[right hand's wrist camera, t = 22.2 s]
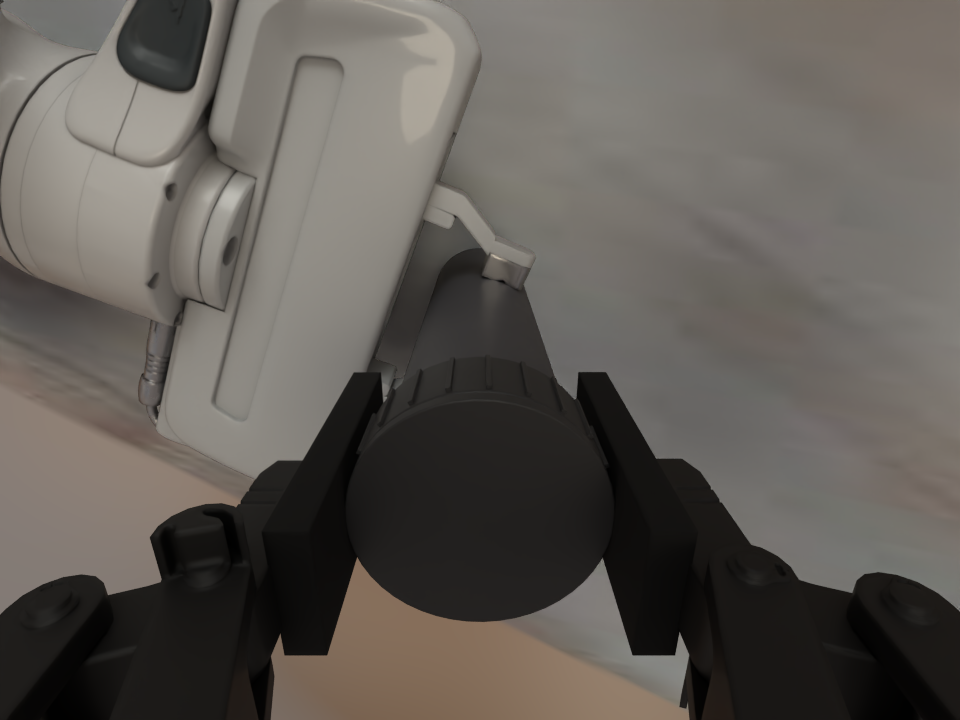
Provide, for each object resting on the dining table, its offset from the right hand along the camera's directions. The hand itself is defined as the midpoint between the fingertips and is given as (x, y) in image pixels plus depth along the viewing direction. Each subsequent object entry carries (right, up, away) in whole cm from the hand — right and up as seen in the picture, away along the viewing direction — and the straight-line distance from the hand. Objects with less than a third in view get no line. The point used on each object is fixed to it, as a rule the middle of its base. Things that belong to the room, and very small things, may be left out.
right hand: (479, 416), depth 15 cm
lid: (0, -1, -4) cm, 4 cm away
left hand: (+1, +3, +8) cm, 8 cm away
